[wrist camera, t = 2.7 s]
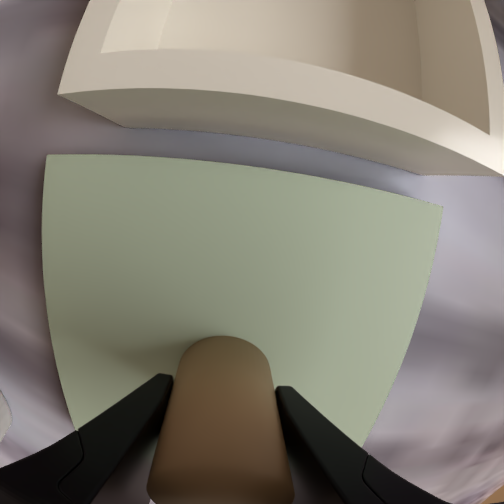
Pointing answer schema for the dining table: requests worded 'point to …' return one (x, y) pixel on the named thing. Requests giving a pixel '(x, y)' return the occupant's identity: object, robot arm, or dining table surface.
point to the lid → (228, 306)
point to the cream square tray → (302, 75)
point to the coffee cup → (4, 417)
